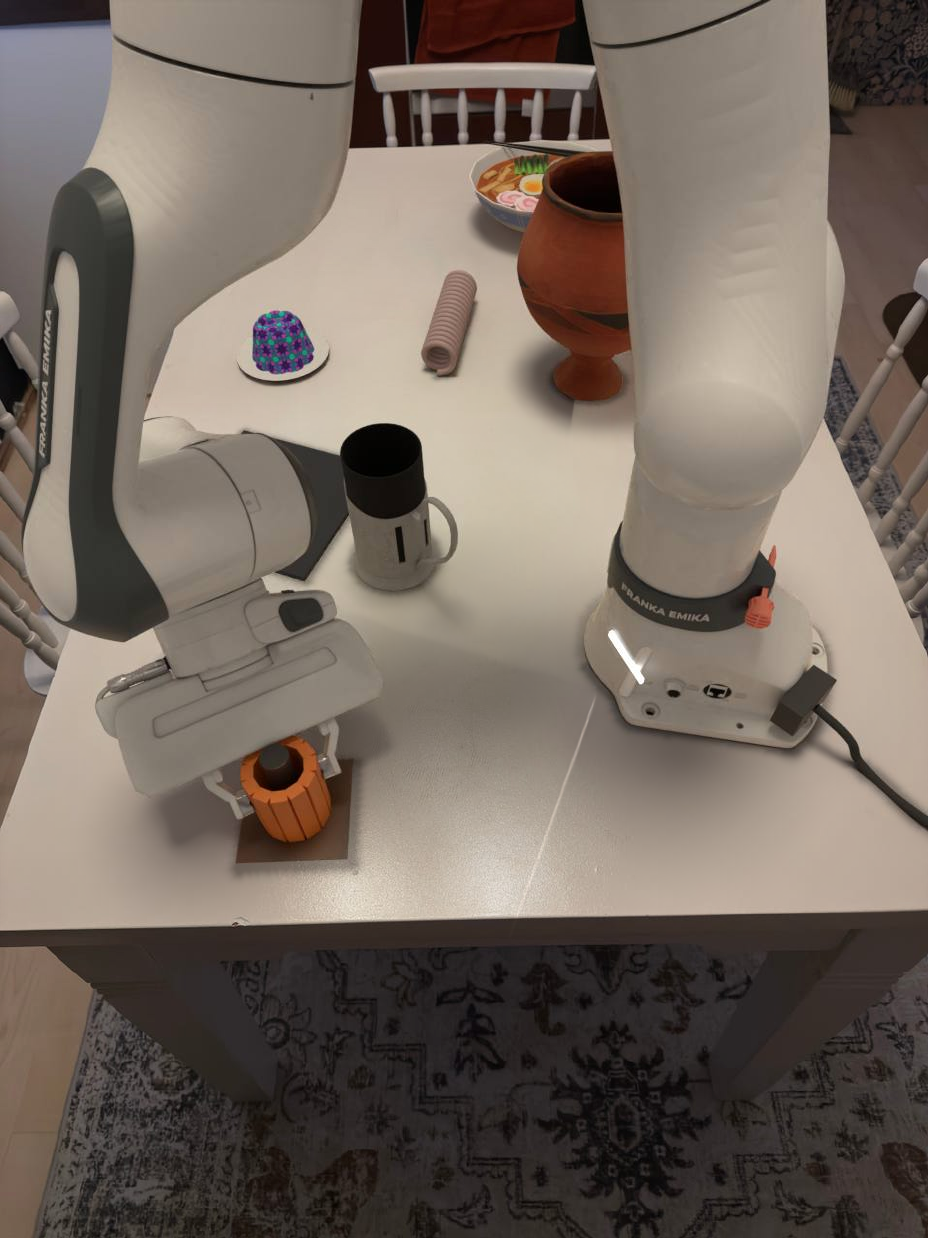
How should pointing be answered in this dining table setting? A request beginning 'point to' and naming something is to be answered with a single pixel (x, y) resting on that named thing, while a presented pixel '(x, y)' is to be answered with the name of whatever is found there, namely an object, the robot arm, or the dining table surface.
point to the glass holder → (390, 507)
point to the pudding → (281, 348)
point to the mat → (319, 503)
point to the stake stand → (318, 847)
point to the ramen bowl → (517, 177)
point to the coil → (449, 322)
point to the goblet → (579, 272)
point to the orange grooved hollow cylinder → (289, 794)
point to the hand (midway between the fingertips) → (290, 794)
